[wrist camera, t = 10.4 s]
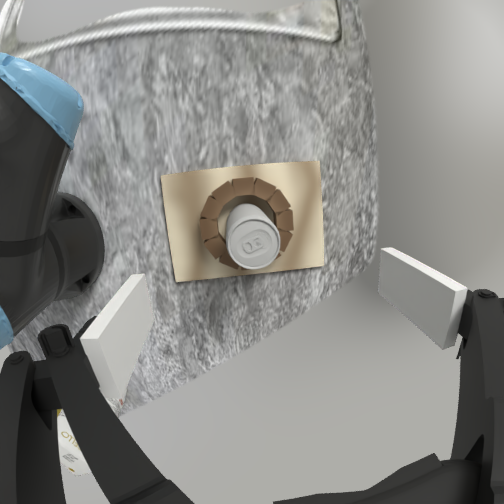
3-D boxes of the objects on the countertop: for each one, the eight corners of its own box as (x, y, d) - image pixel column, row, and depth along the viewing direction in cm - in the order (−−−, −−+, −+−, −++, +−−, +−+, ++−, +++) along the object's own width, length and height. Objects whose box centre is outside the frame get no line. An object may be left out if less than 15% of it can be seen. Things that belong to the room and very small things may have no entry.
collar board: (176, 280, 39) (173, 288, 36) (161, 175, 35) (156, 175, 32) (322, 264, 40) (329, 271, 37) (317, 161, 36) (325, 160, 33)
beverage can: (271, 231, 37) (290, 257, 26) (236, 246, 37) (240, 279, 26) (255, 196, 36) (269, 207, 24) (220, 212, 36) (216, 230, 25)
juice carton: (98, 353, 41) (52, 435, 22) (134, 387, 43) (105, 474, 25) (75, 369, 41) (31, 444, 23) (109, 401, 43) (78, 480, 25)
